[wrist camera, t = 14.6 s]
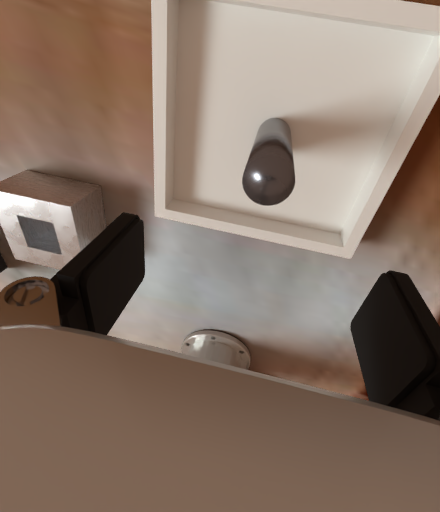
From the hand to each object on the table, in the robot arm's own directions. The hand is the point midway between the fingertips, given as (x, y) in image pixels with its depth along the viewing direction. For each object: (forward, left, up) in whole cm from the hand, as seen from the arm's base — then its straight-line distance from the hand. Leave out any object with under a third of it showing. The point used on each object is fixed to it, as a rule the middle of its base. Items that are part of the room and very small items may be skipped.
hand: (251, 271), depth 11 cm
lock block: (+18, +21, -21) cm, 35 cm away
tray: (0, -1, -21) cm, 21 cm away
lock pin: (0, -1, -20) cm, 20 cm away
